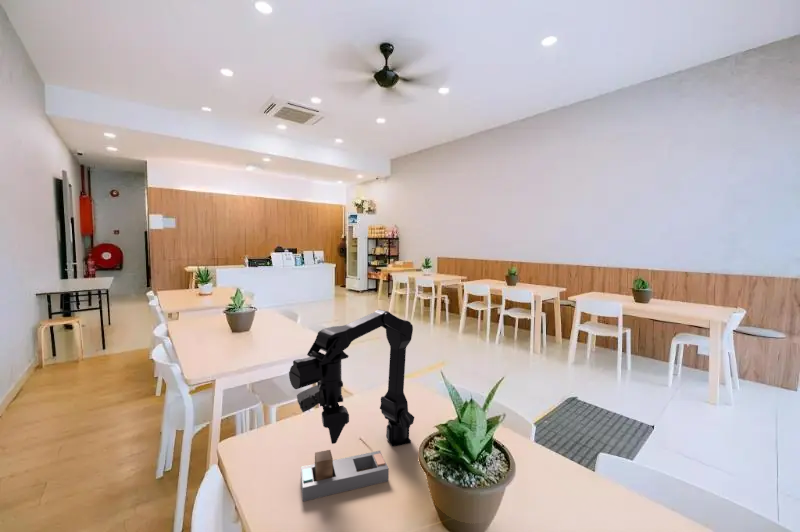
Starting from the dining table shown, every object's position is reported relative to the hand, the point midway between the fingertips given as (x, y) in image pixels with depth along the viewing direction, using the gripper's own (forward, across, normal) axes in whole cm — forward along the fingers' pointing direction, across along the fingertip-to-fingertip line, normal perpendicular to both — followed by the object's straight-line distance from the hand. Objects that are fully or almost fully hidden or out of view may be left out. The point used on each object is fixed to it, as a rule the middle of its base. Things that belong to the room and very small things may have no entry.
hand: (331, 433), depth 89 cm
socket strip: (+12, +3, +3) cm, 13 cm away
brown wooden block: (+12, +3, -2) cm, 13 cm away
